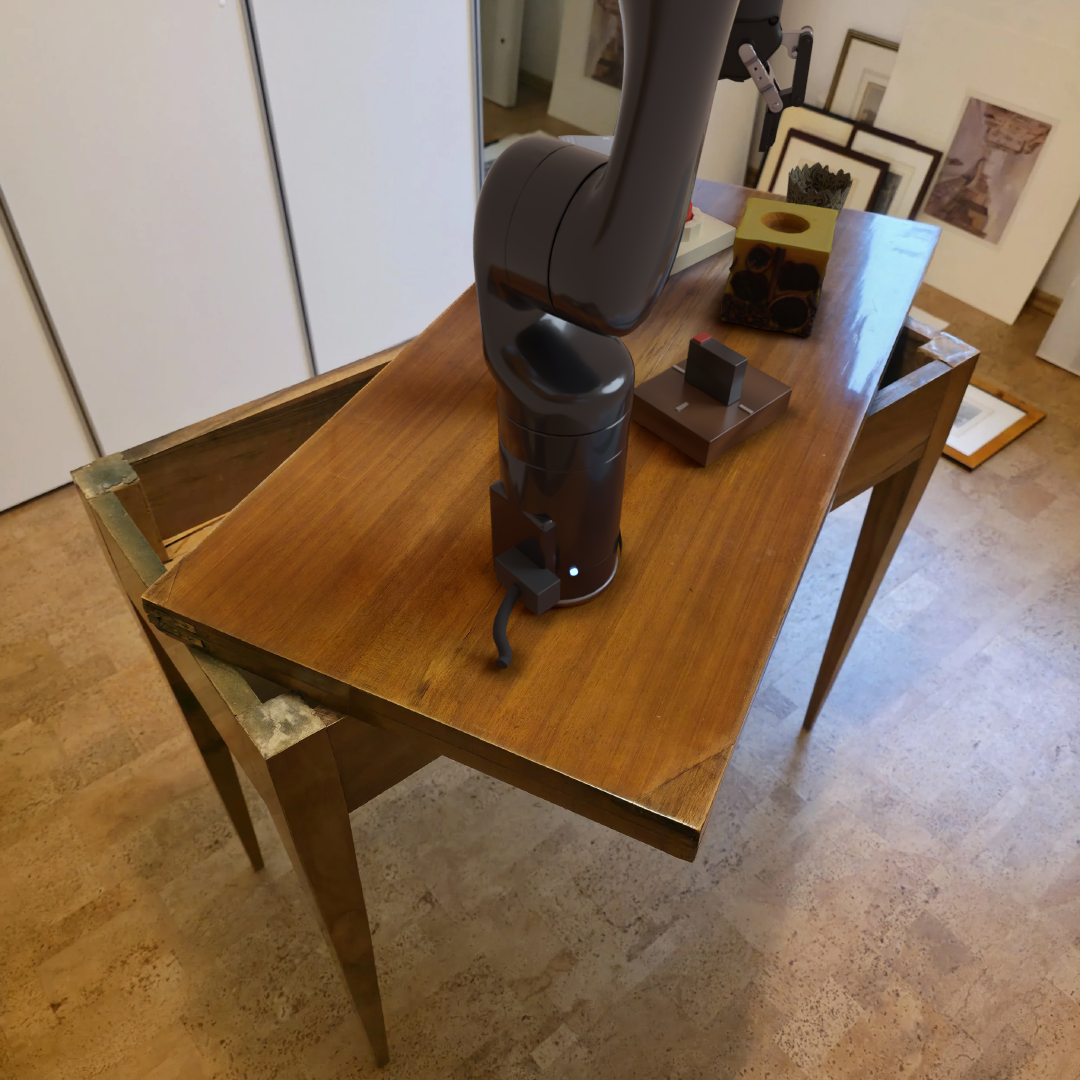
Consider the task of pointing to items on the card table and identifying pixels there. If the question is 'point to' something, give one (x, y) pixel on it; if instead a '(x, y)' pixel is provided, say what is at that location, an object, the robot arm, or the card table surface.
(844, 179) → the cup
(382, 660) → the card table surface
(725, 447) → the dial panel
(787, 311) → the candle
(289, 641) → the card table surface
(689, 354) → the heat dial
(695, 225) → the kettle base
